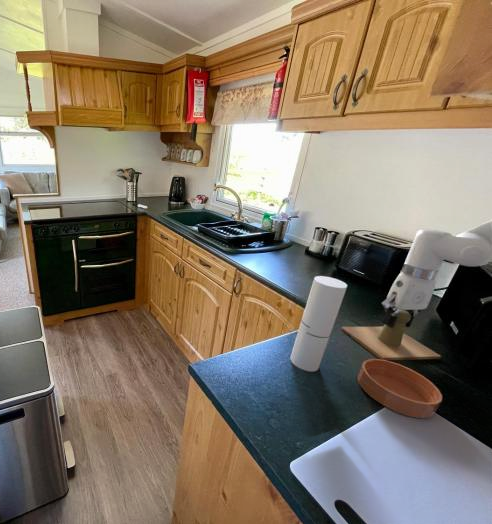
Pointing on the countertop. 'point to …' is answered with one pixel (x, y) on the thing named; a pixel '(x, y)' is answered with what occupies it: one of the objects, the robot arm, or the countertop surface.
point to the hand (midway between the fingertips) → (395, 324)
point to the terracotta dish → (399, 388)
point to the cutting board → (387, 352)
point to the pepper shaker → (395, 329)
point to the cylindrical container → (317, 322)
